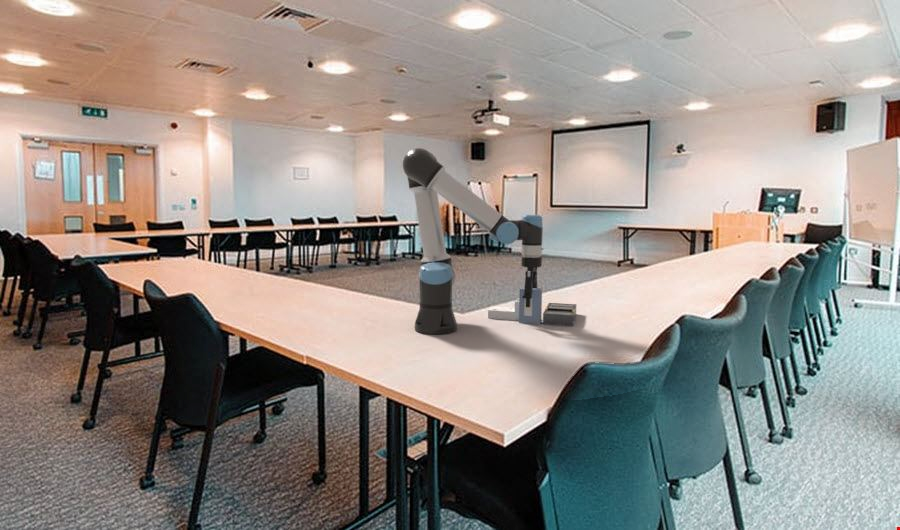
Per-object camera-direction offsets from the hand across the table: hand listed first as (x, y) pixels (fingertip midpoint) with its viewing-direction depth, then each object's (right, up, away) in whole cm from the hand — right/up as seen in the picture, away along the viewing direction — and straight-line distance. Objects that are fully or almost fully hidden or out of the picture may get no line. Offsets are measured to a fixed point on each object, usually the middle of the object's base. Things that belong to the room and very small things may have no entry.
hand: (530, 311), depth 203 cm
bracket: (-8, -3, +9) cm, 13 cm away
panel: (0, -4, +1) cm, 4 cm away
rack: (+13, -3, +7) cm, 15 cm away
